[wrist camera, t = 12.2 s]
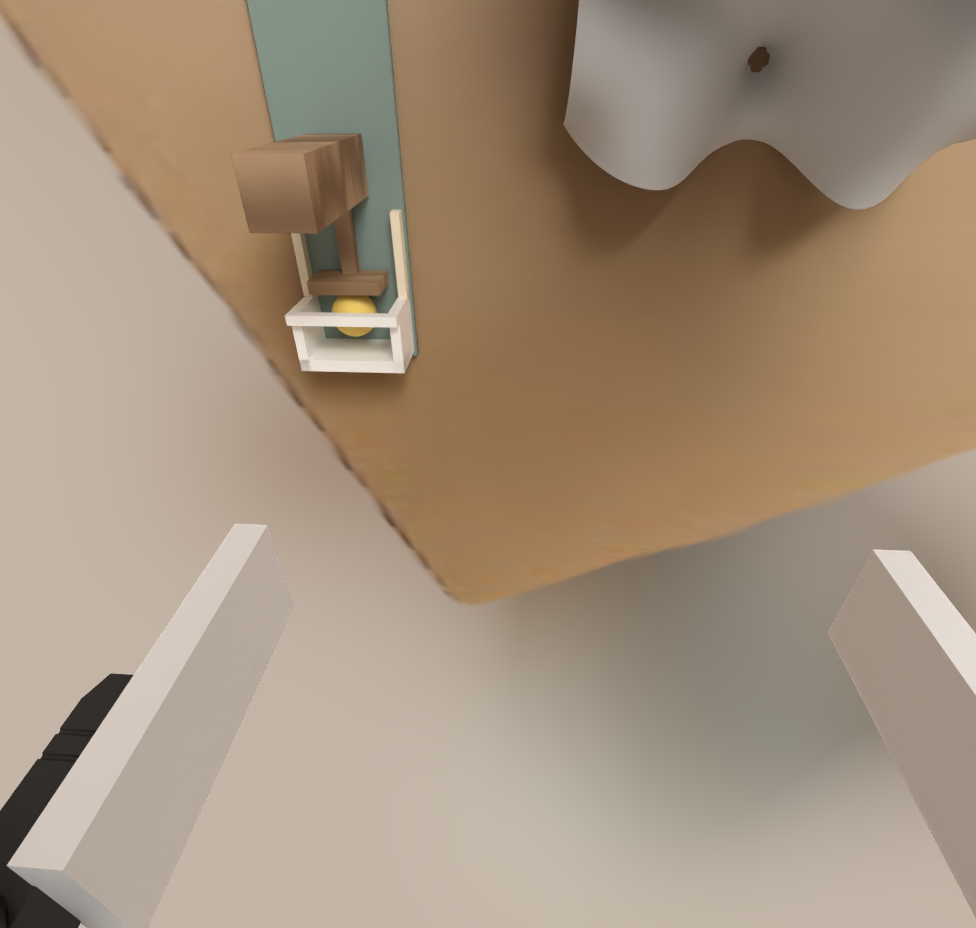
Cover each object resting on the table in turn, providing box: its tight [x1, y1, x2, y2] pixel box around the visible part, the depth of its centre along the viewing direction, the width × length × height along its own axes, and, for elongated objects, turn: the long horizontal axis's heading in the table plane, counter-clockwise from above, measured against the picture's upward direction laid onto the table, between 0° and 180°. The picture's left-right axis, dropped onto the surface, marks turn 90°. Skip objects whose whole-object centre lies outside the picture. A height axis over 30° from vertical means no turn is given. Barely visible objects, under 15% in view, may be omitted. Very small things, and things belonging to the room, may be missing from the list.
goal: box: [285, 295, 414, 373], centre depth 45 cm, size 5×9×5 cm, turn 91°
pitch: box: [247, 0, 418, 356], centre depth 41 cm, size 27×9×2 cm, turn 1°
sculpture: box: [562, 0, 976, 210], centre depth 31 cm, size 25×19×10 cm
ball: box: [332, 295, 377, 337], centre depth 45 cm, size 4×4×4 cm
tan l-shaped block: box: [231, 133, 389, 296], centre depth 37 cm, size 10×6×12 cm, turn 0°
